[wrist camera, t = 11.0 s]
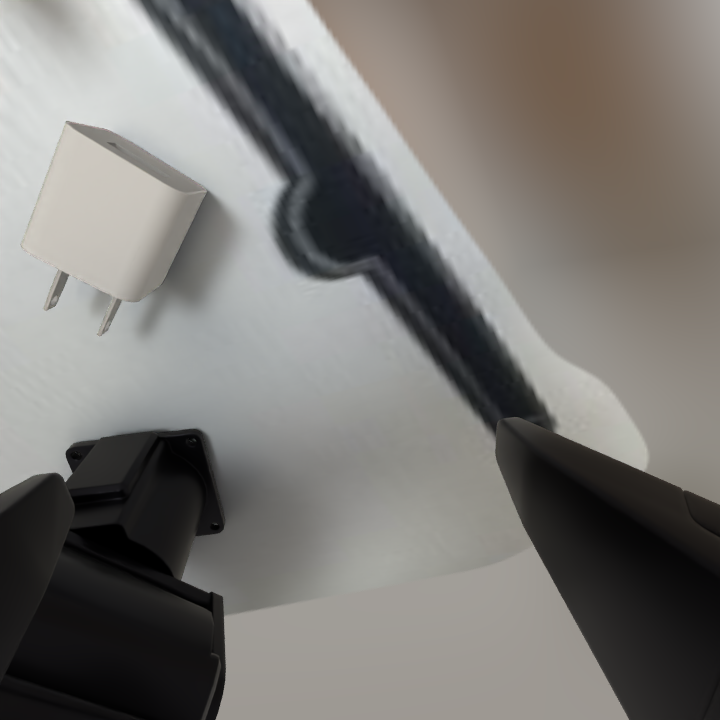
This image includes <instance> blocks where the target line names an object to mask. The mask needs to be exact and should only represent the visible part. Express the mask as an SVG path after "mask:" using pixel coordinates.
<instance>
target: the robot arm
mask: <svg viewBox="0 0 720 720" xmlns="http://www.w3.org/2000/svg"><path fill="white" fill-rule="evenodd" d="M188 438H194V439H195V440H196V442H191V441H189V439H188ZM76 452H79V453H81V454H82V455H78V454H77V453H76ZM495 454H496V460H497V463H498V466H499V468H500V471H501V473H502V476H503V478H504V481H505V483H506V485H507V488H508V490H509V493H510V495H511V498H512V500H513V503H514V505H515V507H516V510H517V512H518V515H519V517H520V519H521V522H522V524H523V526H524V528H525V530H526V532H527V534H528V536H529V537H530V539H531V541H532V543H533V545H534V547H535V548H536V550H537V552H538V554H539V556H540V557H541V559H542V561H543V563H544V565H545V567H546V568H547V570H548V572H549V574H550V576H551V578H552V579H553V581H554V583H555V585H556V587H557V588H558V590H559V592H560V594H561V596H562V598H563V599H564V601H565V603H566V605H567V607H568V608H569V610H570V612H571V614H572V616H573V618H574V619H575V621H576V623H577V625H578V627H579V629H580V630H581V632H582V634H583V636H584V638H585V640H586V641H587V643H588V645H589V647H590V649H591V651H592V652H593V654H594V656H595V658H596V660H597V662H598V663H599V665H600V667H601V669H602V670H603V672H604V674H605V676H606V678H607V680H608V682H609V683H610V685H611V687H612V689H613V691H614V693H615V694H616V696H617V698H618V700H619V702H620V704H621V705H622V707H623V709H624V711H625V713H626V714H627V716H628V718H629V720H720V505H719V504H717V503H714V502H712V501H709V500H707V499H705V498H703V497H700V496H698V495H696V494H694V493H691V492H689V491H683V490H682V489H681V488H680V487H677V486H675V485H672V484H670V483H668V482H666V481H664V480H661V479H659V478H657V477H654V476H652V475H650V474H647V473H645V472H643V471H641V470H638V469H636V468H634V467H631V466H629V465H627V464H625V463H622V462H620V461H618V460H615V459H613V458H611V457H608V456H606V455H604V454H602V453H599V452H597V451H595V450H592V449H590V448H588V447H585V446H583V445H581V444H579V443H576V442H574V441H572V440H569V439H567V438H565V437H563V436H560V435H558V434H556V433H553V432H551V431H549V430H546V429H544V428H542V427H540V426H537V425H535V424H533V423H530V422H528V421H526V420H524V419H521V418H519V417H513V418H505V419H500V420H499V421H498V424H497V432H496V449H495ZM66 458H67V461H68V463H69V465H70V468H71V470H72V473H73V474H72V475H71V476H70V478H69V479H68V480H67V481H66V483H65V482H64V479H63V478H62V476H61V475H60V474H58V473H47V474H39V475H35V476H32V477H30V478H28V479H27V480H25V481H23V482H21V483H19V484H17V485H16V486H14V487H12V488H10V489H8V490H6V491H5V492H3V493H1V494H0V720H215V719H216V716H217V714H218V710H219V707H220V703H221V699H222V695H223V690H224V685H225V673H226V664H225V641H224V639H225V637H224V610H223V597H222V596H220V595H218V594H216V593H214V592H210V593H207V592H205V591H203V590H200V589H198V588H196V587H194V586H192V585H189V584H187V583H185V582H183V581H181V578H182V575H183V572H184V569H185V566H186V563H187V560H188V557H189V553H190V550H191V547H192V544H193V541H194V538H195V536H202V535H210V534H217V533H220V532H221V531H223V529H224V526H225V518H224V514H223V510H222V506H221V502H220V498H219V495H218V491H217V487H216V483H215V479H214V475H213V471H212V468H211V464H210V460H209V456H208V452H207V448H206V445H205V441H204V437H203V435H202V433H201V432H200V431H198V430H195V429H189V430H181V431H172V432H164V433H154V432H144V433H136V434H127V435H119V436H110V437H103V438H101V439H100V440H96V441H87V442H79V443H74V444H73V445H71V446H70V448H69V449H68V450H67V451H66ZM212 523H217V524H218V525H214V524H212Z"/></svg>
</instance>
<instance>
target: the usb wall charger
mask: <svg viewBox="0 0 720 720" xmlns="http://www.w3.org/2000/svg"><path fill="white" fill-rule="evenodd" d="M206 192H207V190H206V189H205V188H204V187H202V186H201V185H200V184H198V183H197V182H195V181H194V180H192V179H190V178H189V177H187V176H185V175H184V174H182V173H181V172H179V171H177V170H176V169H174V168H172V167H171V166H169V165H168V164H166V163H164V162H163V161H161V160H159V159H158V158H156V157H155V156H153V155H151V154H150V153H148V152H146V151H145V150H143V149H142V148H140V147H138V146H137V145H135V144H133V143H132V142H130V141H128V140H127V139H125V138H123V137H121V136H119V135H118V134H116V133H113V132H111V131H109V130H106V129H103V128H98V127H93V126H88V125H84V124H79V123H74V122H69V121H66V123H65V125H64V128H63V131H62V134H61V136H60V139H59V142H58V145H57V147H56V150H55V153H54V156H53V158H52V161H51V164H50V166H49V169H48V172H47V175H46V177H45V180H44V183H43V186H42V188H41V191H40V194H39V197H38V199H37V202H36V205H35V207H34V210H33V213H32V216H31V218H30V221H29V224H28V227H27V229H26V232H25V235H24V237H23V240H22V243H21V247H22V248H23V250H24V251H26V252H27V253H28V254H30V255H32V256H33V257H35V258H37V259H39V260H41V261H43V262H45V263H47V264H49V265H51V266H53V267H55V268H57V269H58V271H57V274H56V276H55V279H54V281H53V284H52V286H51V288H50V291H49V294H48V297H47V299H46V302H45V305H44V308H43V309H44V311H47V310H49V309H51V308H53V307H54V306H56V304H57V302H58V299H59V297H60V295H61V293H62V291H63V288H64V286H65V284H66V281H67V279H68V276H69V275H71V276H73V277H75V278H77V279H79V280H81V281H83V282H85V283H87V284H89V285H91V286H93V287H95V288H97V289H99V290H101V291H103V292H105V293H107V294H109V295H111V296H113V299H112V301H111V304H110V306H109V308H108V310H107V312H106V315H105V317H104V319H103V322H102V324H101V326H100V329H99V331H98V333H97V335H98V336H101V335H102V334H104V333H105V332H106V331H107V330H108V328H109V326H110V324H111V322H112V320H113V318H114V316H115V314H116V312H117V310H118V308H119V305H120V303H121V301H122V300H124V301H128V302H138V301H140V300H142V299H143V298H144V297H146V296H147V295H148V294H150V293H151V292H152V291H154V290H155V289H156V288H158V287H159V286H160V285H162V283H163V281H164V279H165V277H166V275H167V273H168V271H169V269H170V267H171V264H172V262H173V260H174V258H175V256H176V254H177V252H178V250H179V248H180V246H181V244H182V242H183V240H184V238H185V236H186V234H187V231H188V229H189V227H190V225H191V223H192V221H193V219H194V217H195V215H196V213H197V211H198V209H199V207H200V205H201V203H202V201H203V199H204V196H205V194H206Z"/></svg>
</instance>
